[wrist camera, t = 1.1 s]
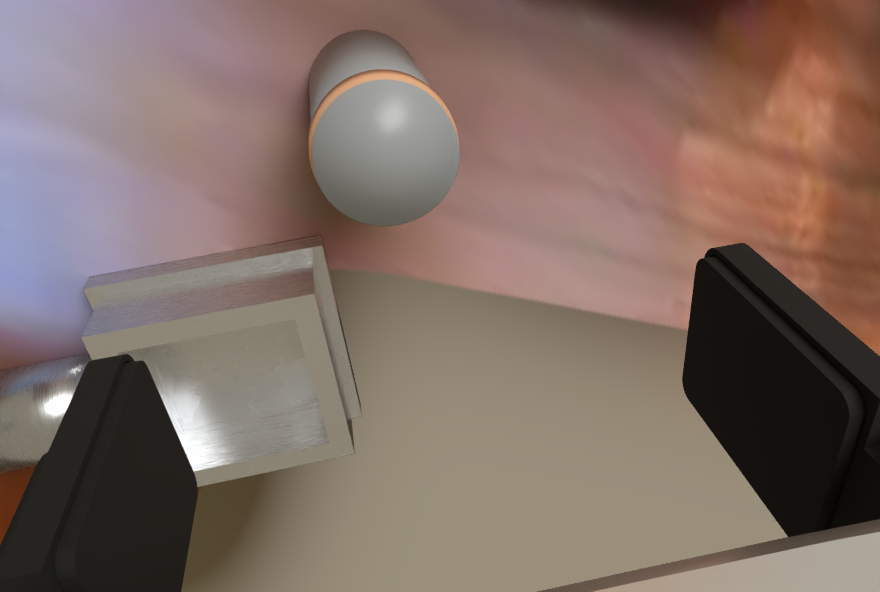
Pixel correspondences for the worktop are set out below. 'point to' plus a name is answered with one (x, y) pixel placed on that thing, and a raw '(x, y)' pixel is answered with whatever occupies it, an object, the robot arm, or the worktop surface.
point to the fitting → (211, 361)
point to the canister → (378, 131)
